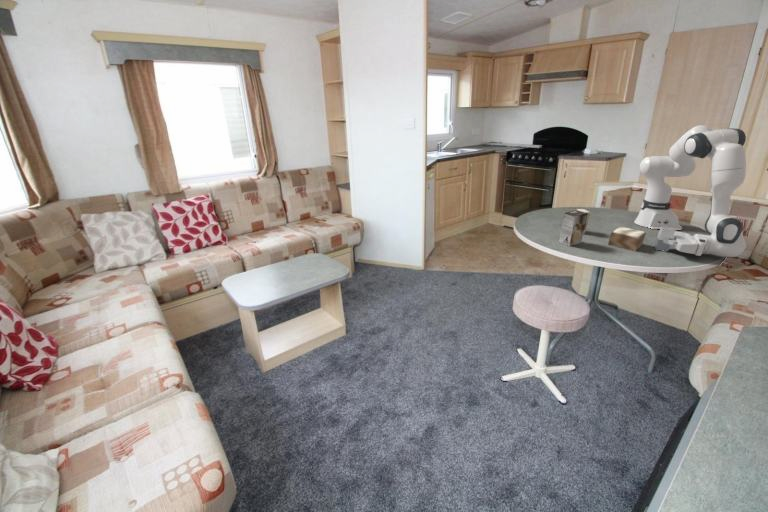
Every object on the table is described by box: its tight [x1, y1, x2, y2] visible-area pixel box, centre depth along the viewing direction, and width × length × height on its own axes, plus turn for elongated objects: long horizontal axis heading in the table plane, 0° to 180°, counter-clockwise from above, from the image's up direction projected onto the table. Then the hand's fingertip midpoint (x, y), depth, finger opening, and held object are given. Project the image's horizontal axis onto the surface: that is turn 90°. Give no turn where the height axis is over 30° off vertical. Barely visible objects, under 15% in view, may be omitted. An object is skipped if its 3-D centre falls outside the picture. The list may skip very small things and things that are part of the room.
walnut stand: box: [608, 226, 647, 252], centre depth 180 cm, size 12×12×7 cm
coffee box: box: [558, 209, 588, 247], centre depth 181 cm, size 9×6×16 cm
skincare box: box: [576, 208, 591, 234], centre depth 197 cm, size 6×4×12 cm
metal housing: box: [653, 226, 676, 252], centre depth 174 cm, size 5×5×11 cm
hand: (662, 238), depth 174 cm, fingers closed on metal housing, 5 cm apart
